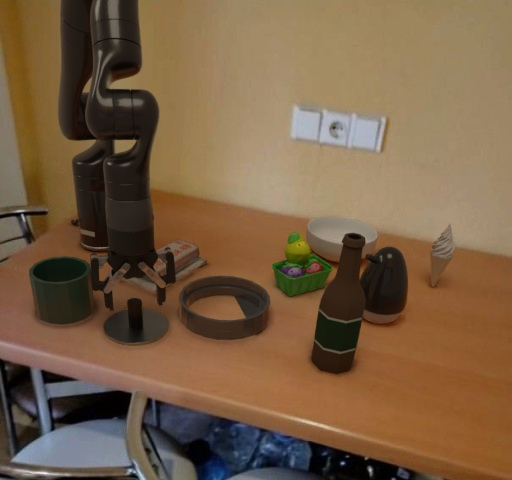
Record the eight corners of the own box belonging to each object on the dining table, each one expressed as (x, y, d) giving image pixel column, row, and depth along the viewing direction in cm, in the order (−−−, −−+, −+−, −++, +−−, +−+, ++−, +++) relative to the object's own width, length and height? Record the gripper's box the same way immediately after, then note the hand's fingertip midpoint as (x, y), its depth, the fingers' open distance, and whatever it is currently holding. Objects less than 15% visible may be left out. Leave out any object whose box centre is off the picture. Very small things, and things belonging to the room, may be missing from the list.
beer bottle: (307, 348, 102) (325, 225, 89) (349, 348, 103) (373, 226, 90) (314, 374, 96) (334, 246, 82) (358, 375, 97) (386, 247, 83)
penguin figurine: (341, 307, 115) (353, 239, 107) (384, 300, 119) (399, 233, 110) (366, 334, 107) (381, 262, 99) (412, 326, 111) (430, 256, 102)
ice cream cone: (445, 284, 127) (464, 222, 118) (442, 294, 123) (460, 230, 114) (423, 278, 128) (440, 216, 120) (419, 288, 124) (435, 224, 116)
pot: (36, 300, 110) (29, 258, 105) (92, 295, 113) (88, 254, 108) (36, 329, 101) (28, 286, 96) (97, 323, 104) (92, 280, 99)
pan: (172, 299, 113) (171, 279, 111) (253, 291, 118) (254, 272, 116) (189, 347, 100) (189, 326, 97) (280, 336, 105) (282, 315, 102)
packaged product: (172, 232, 128) (207, 244, 124) (172, 252, 131) (207, 264, 127) (117, 261, 115) (155, 275, 111) (119, 281, 118) (156, 296, 114)
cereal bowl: (366, 278, 127) (372, 249, 123) (295, 263, 130) (298, 235, 126) (377, 249, 140) (383, 222, 136) (313, 236, 144) (316, 209, 140)
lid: (101, 316, 106) (98, 288, 103) (162, 310, 110) (161, 283, 106) (107, 352, 97) (104, 322, 94) (173, 343, 101) (172, 315, 97)
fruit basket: (288, 301, 116) (293, 251, 110) (265, 282, 122) (269, 233, 116) (331, 289, 121) (339, 241, 115) (307, 271, 127) (313, 225, 121)
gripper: (169, 209, 96) (171, 292, 105) (83, 214, 92) (92, 299, 101) (177, 226, 91) (179, 312, 100) (86, 232, 87) (96, 321, 95)
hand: (135, 306), depth 100 cm, fingers open, 8 cm apart
